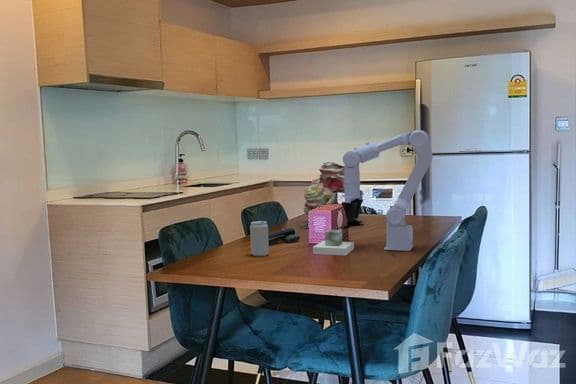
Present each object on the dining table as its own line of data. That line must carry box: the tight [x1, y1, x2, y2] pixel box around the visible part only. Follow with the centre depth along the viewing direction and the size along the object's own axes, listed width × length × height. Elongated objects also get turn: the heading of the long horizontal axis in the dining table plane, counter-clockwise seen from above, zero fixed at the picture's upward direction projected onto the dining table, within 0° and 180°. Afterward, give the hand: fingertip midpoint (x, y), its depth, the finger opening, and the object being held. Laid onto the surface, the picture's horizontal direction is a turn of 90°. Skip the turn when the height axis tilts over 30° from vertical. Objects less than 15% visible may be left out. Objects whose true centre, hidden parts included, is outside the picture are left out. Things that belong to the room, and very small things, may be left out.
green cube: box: [324, 229, 343, 246], centre depth 202 cm, size 5×5×5 cm
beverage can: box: [249, 220, 270, 257], centre depth 200 cm, size 6×6×12 cm
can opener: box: [268, 227, 301, 246], centre depth 221 cm, size 18×7×6 cm, turn 127°
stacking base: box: [312, 240, 355, 256], centre depth 203 cm, size 12×12×2 cm
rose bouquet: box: [300, 161, 365, 229], centre depth 259 cm, size 26×29×30 cm
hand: (352, 219), depth 209 cm, fingers open, 7 cm apart
